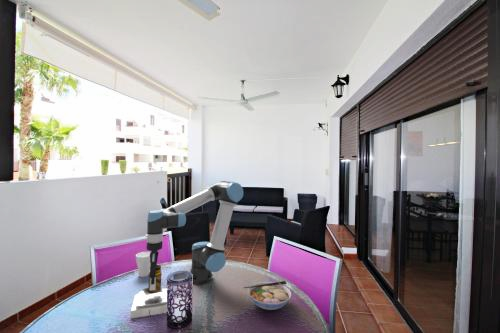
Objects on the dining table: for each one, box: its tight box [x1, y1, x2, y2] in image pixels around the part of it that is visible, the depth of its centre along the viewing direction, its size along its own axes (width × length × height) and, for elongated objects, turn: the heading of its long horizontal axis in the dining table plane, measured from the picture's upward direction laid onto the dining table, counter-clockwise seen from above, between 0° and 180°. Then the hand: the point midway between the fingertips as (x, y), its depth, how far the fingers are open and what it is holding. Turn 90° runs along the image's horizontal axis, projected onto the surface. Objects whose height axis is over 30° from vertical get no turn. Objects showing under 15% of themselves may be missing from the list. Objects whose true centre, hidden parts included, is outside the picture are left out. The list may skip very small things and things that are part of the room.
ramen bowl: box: [243, 280, 292, 311], centre depth 127 cm, size 25×23×8 cm
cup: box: [135, 251, 151, 278], centre depth 159 cm, size 10×10×14 cm
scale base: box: [130, 293, 167, 319], centre depth 123 cm, size 18×17×4 cm
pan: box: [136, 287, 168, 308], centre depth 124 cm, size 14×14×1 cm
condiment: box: [142, 264, 163, 296], centre depth 124 cm, size 7×8×12 cm
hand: (153, 286), depth 124 cm, fingers closed on condiment, 6 cm apart
